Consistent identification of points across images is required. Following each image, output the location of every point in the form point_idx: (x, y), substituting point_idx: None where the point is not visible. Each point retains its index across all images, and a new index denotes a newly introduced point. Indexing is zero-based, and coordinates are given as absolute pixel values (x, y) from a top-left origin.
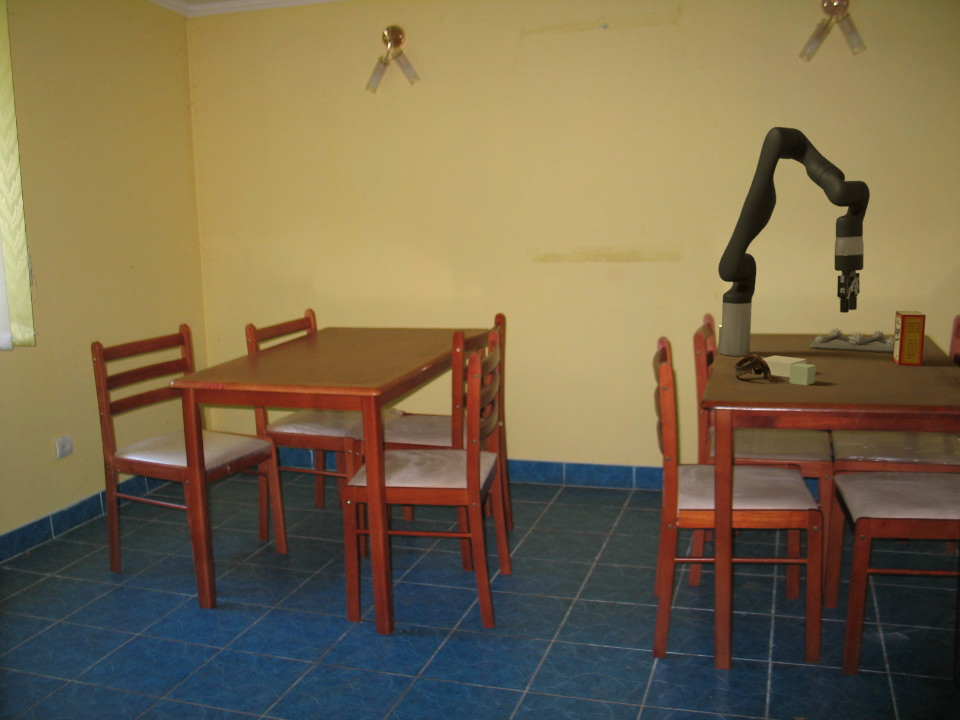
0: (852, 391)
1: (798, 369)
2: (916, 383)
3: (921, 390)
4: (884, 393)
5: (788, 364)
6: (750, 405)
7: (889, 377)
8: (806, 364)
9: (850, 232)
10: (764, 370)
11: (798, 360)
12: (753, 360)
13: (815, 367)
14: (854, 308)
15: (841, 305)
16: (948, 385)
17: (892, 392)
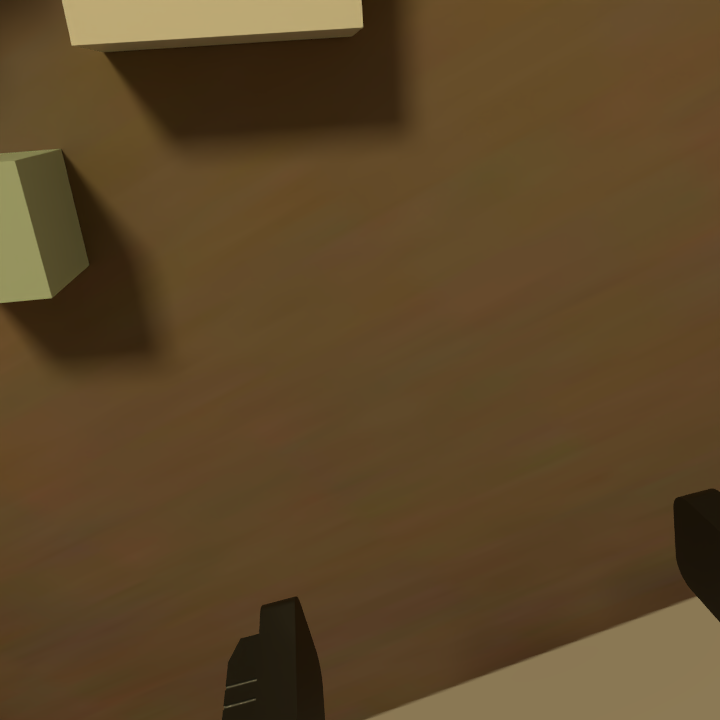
0: (49, 507)
1: None
2: (458, 579)
3: (320, 651)
4: (135, 603)
5: (69, 25)
6: None
7: (527, 448)
8: (20, 235)
9: None
10: None
11: (255, 10)
12: None
13: (54, 293)
14: (685, 569)
15: (227, 711)
16: (500, 661)
17: (184, 611)
